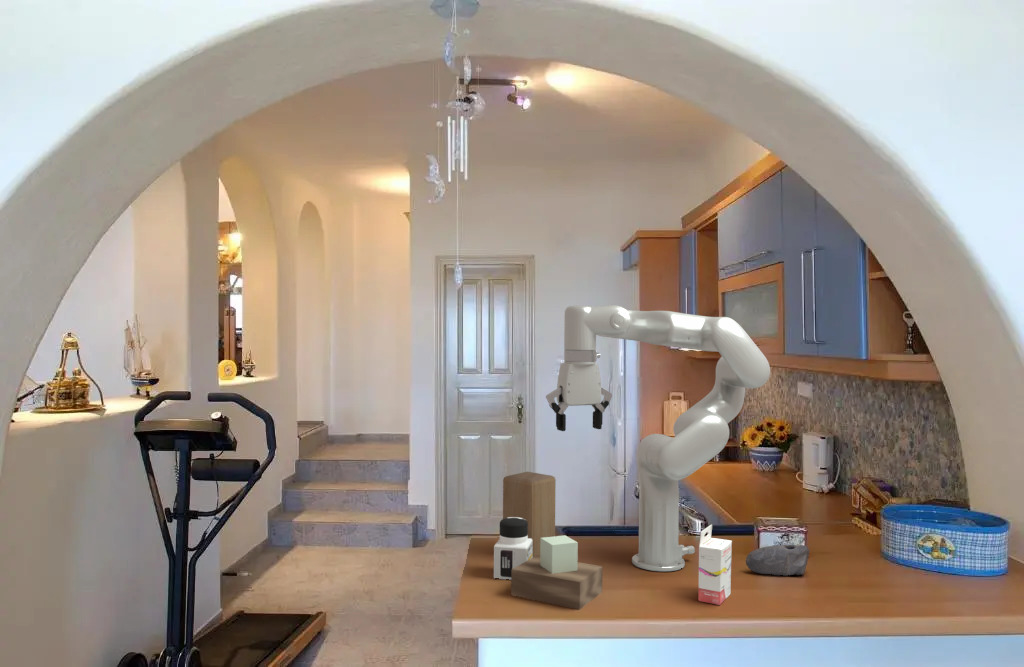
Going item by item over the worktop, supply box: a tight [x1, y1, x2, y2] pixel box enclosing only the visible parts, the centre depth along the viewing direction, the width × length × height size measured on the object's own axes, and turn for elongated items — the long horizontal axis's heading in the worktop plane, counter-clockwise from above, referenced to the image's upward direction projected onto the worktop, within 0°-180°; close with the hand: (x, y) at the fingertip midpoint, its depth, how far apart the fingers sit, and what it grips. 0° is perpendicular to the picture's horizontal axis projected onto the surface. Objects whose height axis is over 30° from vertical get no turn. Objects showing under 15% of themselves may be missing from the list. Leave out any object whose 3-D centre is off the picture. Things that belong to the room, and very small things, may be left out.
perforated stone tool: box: [745, 544, 810, 577], centre depth 178 cm, size 15×5×7 cm, turn 85°
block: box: [502, 471, 556, 558], centre depth 192 cm, size 10×10×20 cm
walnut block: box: [510, 555, 603, 611], centre depth 164 cm, size 12×16×6 cm
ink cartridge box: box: [697, 524, 733, 606], centre depth 162 cm, size 9×5×15 cm, turn 149°
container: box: [493, 517, 533, 581], centre depth 176 cm, size 8×8×13 cm
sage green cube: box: [540, 535, 579, 574], centre depth 164 cm, size 6×6×6 cm
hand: (579, 429), depth 180 cm, fingers open, 9 cm apart
